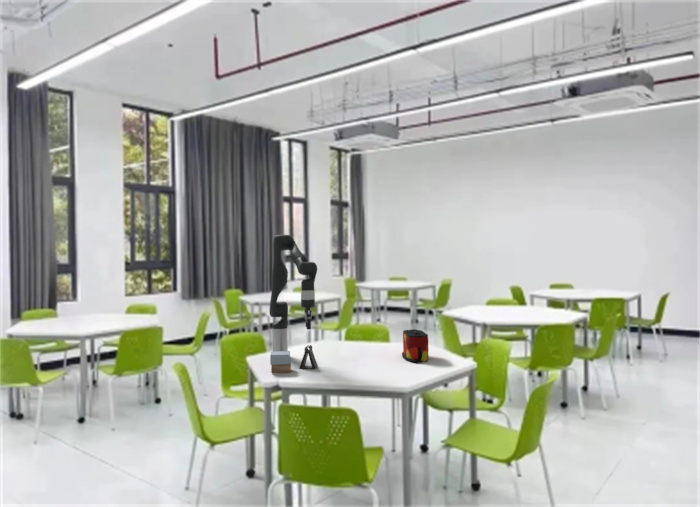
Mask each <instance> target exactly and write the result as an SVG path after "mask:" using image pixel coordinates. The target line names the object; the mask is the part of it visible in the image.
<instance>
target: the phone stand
mask: <svg viewBox="0 0 700 507" xmlns="http://www.w3.org/2000/svg"><path fill="white" fill-rule="evenodd" d="M308 357H309V362H310V365H306V364H307V359H308ZM317 362H318V361H317V360H316V357H315V354H314V351H313V345H311V344H310V345H309V344H308V345H306V346H305V348H304V352H303V357H302V359H301V363H300V364H299V369H301V370H316V369H317V368H318V367H319V365H318V363H317Z"/></svg>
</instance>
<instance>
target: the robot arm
mask: <svg viewBox="0 0 700 507" xmlns="http://www.w3.org/2000/svg"><path fill="white" fill-rule="evenodd" d="M272 241H273V242H272V250H273V251H272V253H273V258H272V259H273V260H272V261H273V263H272V273H271V294H270V302H269V316H270V317H271V318H280V319H279V320H277V321H275V322H273V323H272V326H271V327H272V328H271V329H272V330H271V331H272V332H271V334H272V336H271V337H272V338H271V341H272V344H271V345H272V350H271V352H275V351H289V346H288V344H289V343H288V336H289V335H288V333H289V332H288V321H289V320H288V318H289V305H288V302H286V301H278V298H279V296H280V294H281V293H282V291H283V290H284V289H285V287H286V286H287V284H288V278H289V270H288V269H287V266H286V264H285V263H284V262H283V260H282V256H281V255H282V254H281V253H282V251H290V260H291V261H292V262H293V264H294V265H295V266H296V269H297V273H298V274H300V275H301V276H308V277H307V278H305V279H302V280H301V284H300V285H301V286H300V288H301V290H300V291H301V292H300V307H301V308H303V309H304V310H303V311H304V312H303V313H304V320H305V327H306V329H307V330H311V329H312V326H311V325H312V315H313V314H312V313H313V310H311V308H315V306H316V293H315V281H316V277H317V273H318V265H317V264H316V263H315V262H313V261H308V259H307V257H306V256H305V255H304V253H302V251H301V250H300V248H299V247H298V244H297V243H296V241H295V239H294V238H293V237H292V236H291V235H290V234H276V235H275V236H274V237H273V240H272Z"/></svg>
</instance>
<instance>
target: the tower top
mask: <svg viewBox="0 0 700 507" xmlns="http://www.w3.org/2000/svg"><path fill="white" fill-rule="evenodd" d="M269 356H270V361H269V362H270V366H271V365H277V364H290V363H291V350H288V351H275V352H272V351H271V352H270V355H269Z"/></svg>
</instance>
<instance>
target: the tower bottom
mask: <svg viewBox="0 0 700 507" xmlns="http://www.w3.org/2000/svg"><path fill="white" fill-rule="evenodd" d="M270 366H271V368H270V370H271V372H270V373H279V374H291V373H292V370H291V367H292V366H291V362H290V364H277V365H270Z"/></svg>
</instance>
